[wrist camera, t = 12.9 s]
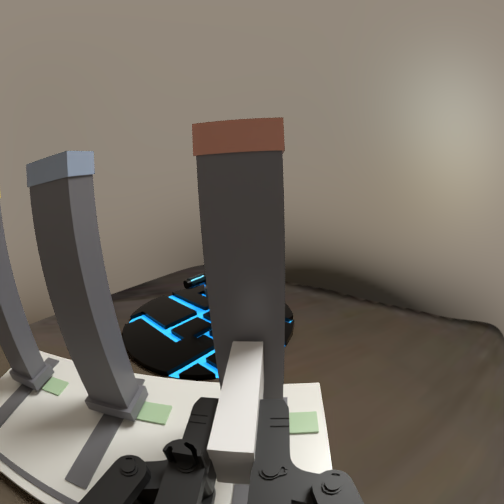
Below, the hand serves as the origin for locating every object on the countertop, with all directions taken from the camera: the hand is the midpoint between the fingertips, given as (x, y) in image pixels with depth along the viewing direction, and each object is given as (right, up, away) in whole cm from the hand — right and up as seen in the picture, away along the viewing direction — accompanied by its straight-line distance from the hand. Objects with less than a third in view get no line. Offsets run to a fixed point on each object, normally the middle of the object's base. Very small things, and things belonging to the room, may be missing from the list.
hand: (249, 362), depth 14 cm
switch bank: (-11, -9, +2) cm, 14 cm away
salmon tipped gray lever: (0, -6, +3) cm, 7 cm away
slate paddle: (-11, -6, +4) cm, 13 cm away
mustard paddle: (-21, -7, +5) cm, 23 cm away
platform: (-6, -4, +21) cm, 23 cm away
